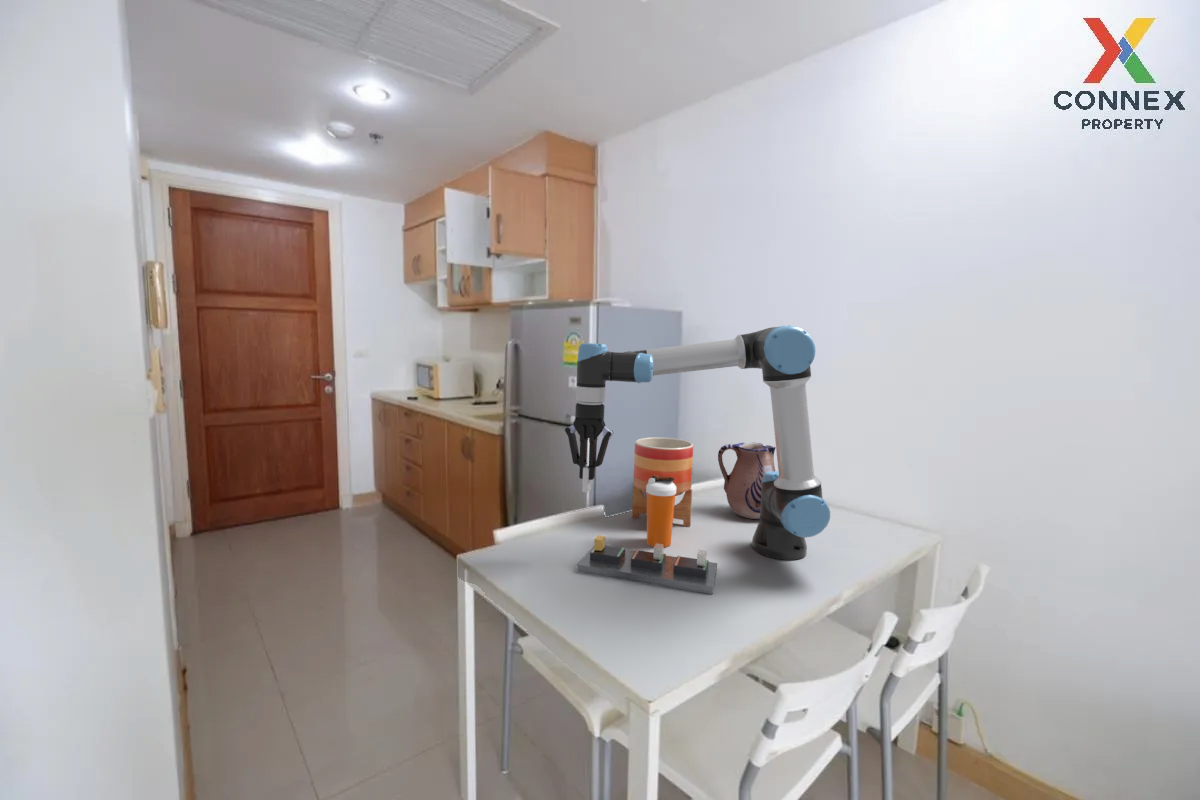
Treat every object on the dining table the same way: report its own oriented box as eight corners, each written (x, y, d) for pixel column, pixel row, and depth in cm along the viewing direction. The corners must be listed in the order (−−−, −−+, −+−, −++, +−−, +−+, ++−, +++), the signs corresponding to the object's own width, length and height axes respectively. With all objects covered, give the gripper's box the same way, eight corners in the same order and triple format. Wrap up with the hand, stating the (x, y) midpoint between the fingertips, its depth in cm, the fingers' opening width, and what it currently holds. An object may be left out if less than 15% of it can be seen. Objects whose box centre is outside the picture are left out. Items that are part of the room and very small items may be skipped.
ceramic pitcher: (784, 524, 173) (789, 451, 170) (721, 522, 173) (725, 449, 170) (768, 508, 190) (772, 441, 187) (711, 506, 190) (714, 439, 188)
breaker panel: (717, 570, 136) (718, 544, 135) (712, 594, 122) (713, 565, 122) (594, 551, 146) (594, 527, 145) (577, 572, 132) (578, 545, 132)
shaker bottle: (673, 550, 148) (676, 482, 146) (642, 547, 150) (644, 480, 148) (674, 539, 157) (677, 474, 155) (645, 536, 159) (648, 472, 156)
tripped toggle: (604, 546, 139) (605, 536, 138) (601, 551, 136) (601, 540, 136) (597, 545, 139) (597, 535, 139) (594, 549, 136) (594, 538, 136)
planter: (622, 526, 167) (625, 444, 164) (641, 508, 185) (644, 435, 182) (682, 536, 159) (686, 451, 156) (696, 517, 178) (700, 440, 175)
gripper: (618, 403, 136) (613, 490, 139) (571, 399, 140) (568, 484, 142) (610, 406, 129) (605, 498, 131) (561, 402, 133) (558, 491, 135)
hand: (586, 490), depth 137 cm, fingers closed
